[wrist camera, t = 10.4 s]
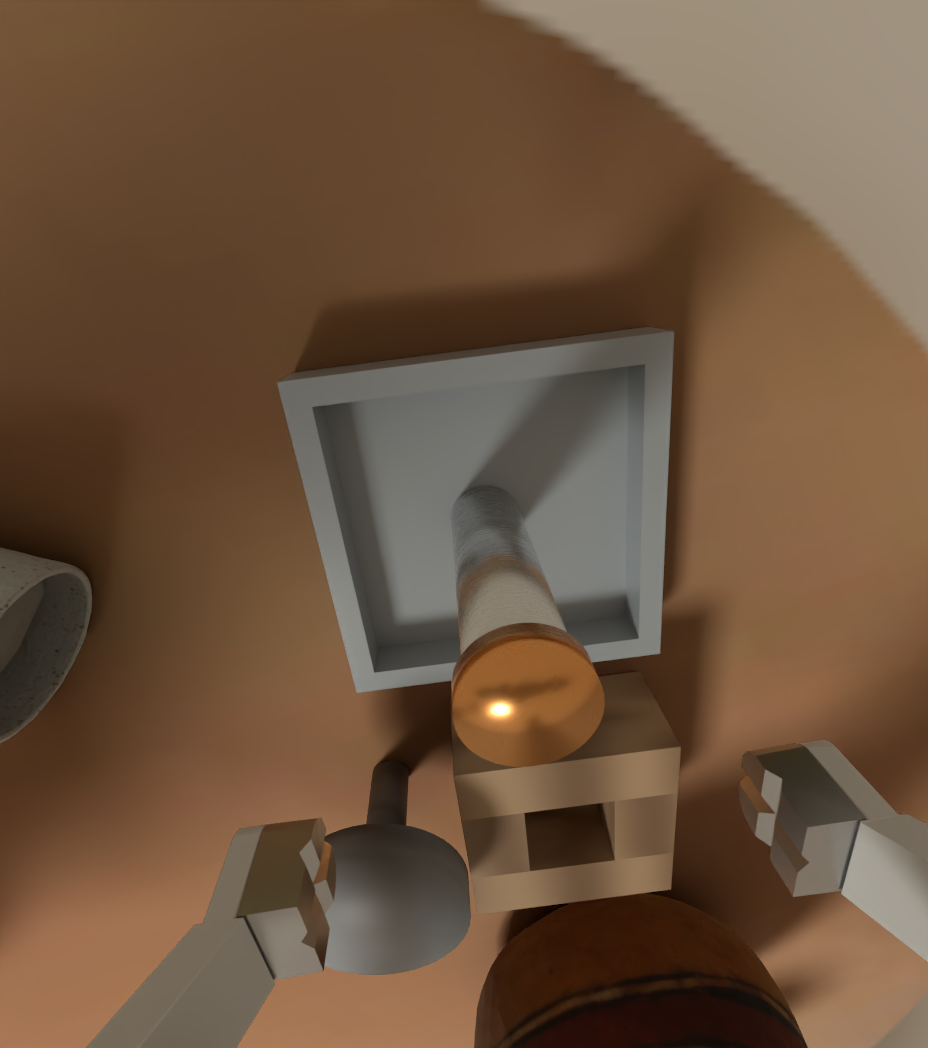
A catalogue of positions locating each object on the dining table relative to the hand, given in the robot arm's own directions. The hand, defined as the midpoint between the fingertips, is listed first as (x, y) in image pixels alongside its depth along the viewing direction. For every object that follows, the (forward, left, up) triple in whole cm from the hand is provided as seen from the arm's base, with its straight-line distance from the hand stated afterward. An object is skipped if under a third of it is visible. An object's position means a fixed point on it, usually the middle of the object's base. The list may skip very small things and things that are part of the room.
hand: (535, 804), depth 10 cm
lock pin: (0, 0, -14) cm, 14 cm away
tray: (+1, 0, -15) cm, 15 cm away
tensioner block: (-1, -15, -15) cm, 21 cm away
